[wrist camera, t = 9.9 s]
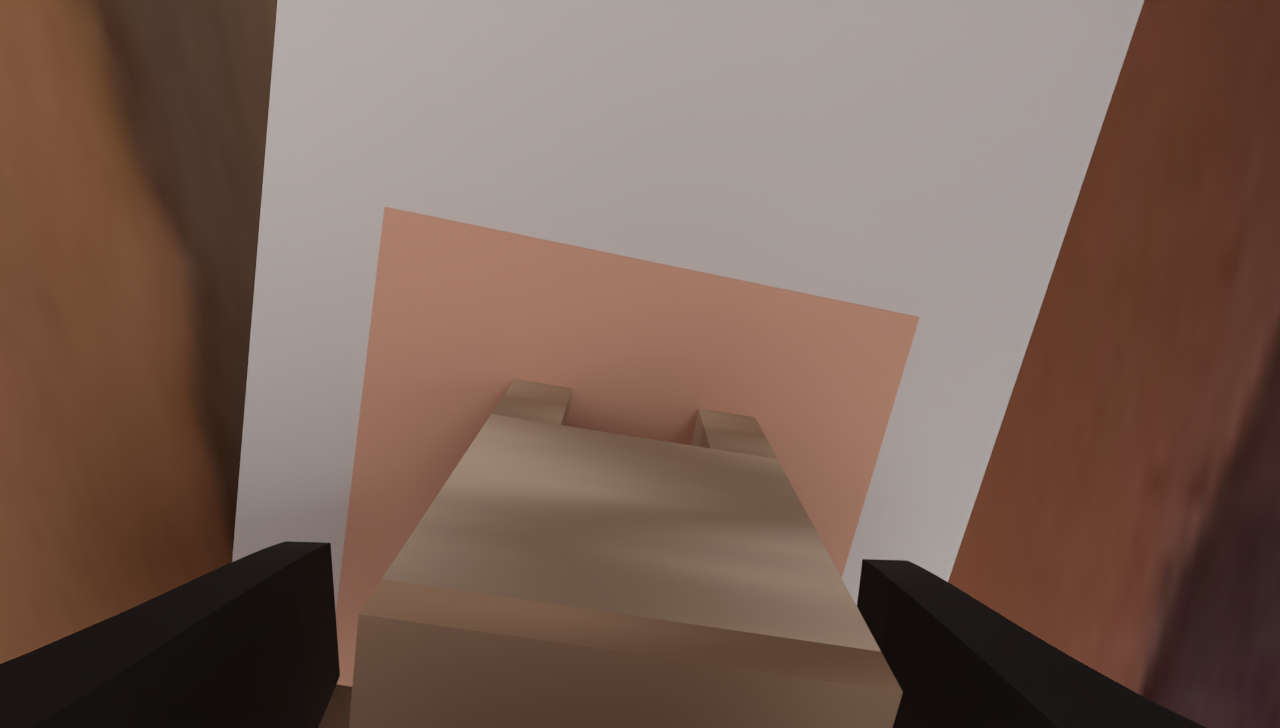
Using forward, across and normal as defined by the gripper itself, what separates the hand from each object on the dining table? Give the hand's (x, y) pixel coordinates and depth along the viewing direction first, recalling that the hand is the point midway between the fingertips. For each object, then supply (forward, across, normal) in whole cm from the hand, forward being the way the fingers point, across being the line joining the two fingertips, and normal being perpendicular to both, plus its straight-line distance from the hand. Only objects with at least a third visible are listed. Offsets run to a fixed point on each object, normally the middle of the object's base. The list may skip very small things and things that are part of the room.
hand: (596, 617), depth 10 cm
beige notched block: (+3, 0, 0) cm, 3 cm away
